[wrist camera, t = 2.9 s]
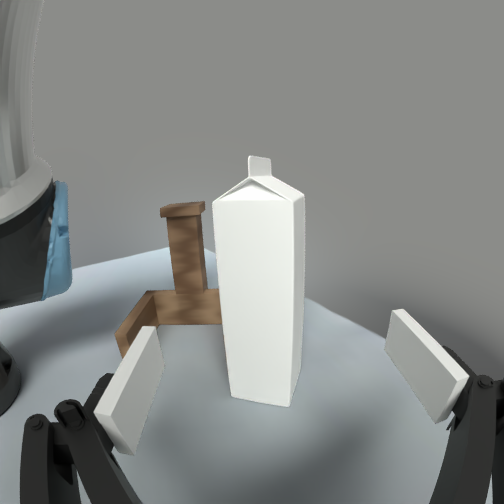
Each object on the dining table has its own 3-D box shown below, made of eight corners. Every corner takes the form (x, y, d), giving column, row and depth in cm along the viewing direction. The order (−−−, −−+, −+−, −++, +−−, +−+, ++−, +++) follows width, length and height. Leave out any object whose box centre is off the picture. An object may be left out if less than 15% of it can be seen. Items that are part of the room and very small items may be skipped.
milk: (300, 370, 29) (306, 158, 23) (289, 408, 23) (294, 153, 17) (248, 363, 30) (239, 160, 24) (229, 397, 25) (209, 157, 19)
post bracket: (125, 368, 29) (90, 226, 24) (158, 310, 44) (142, 206, 39) (241, 371, 29) (229, 215, 24) (241, 308, 44) (235, 199, 39)
